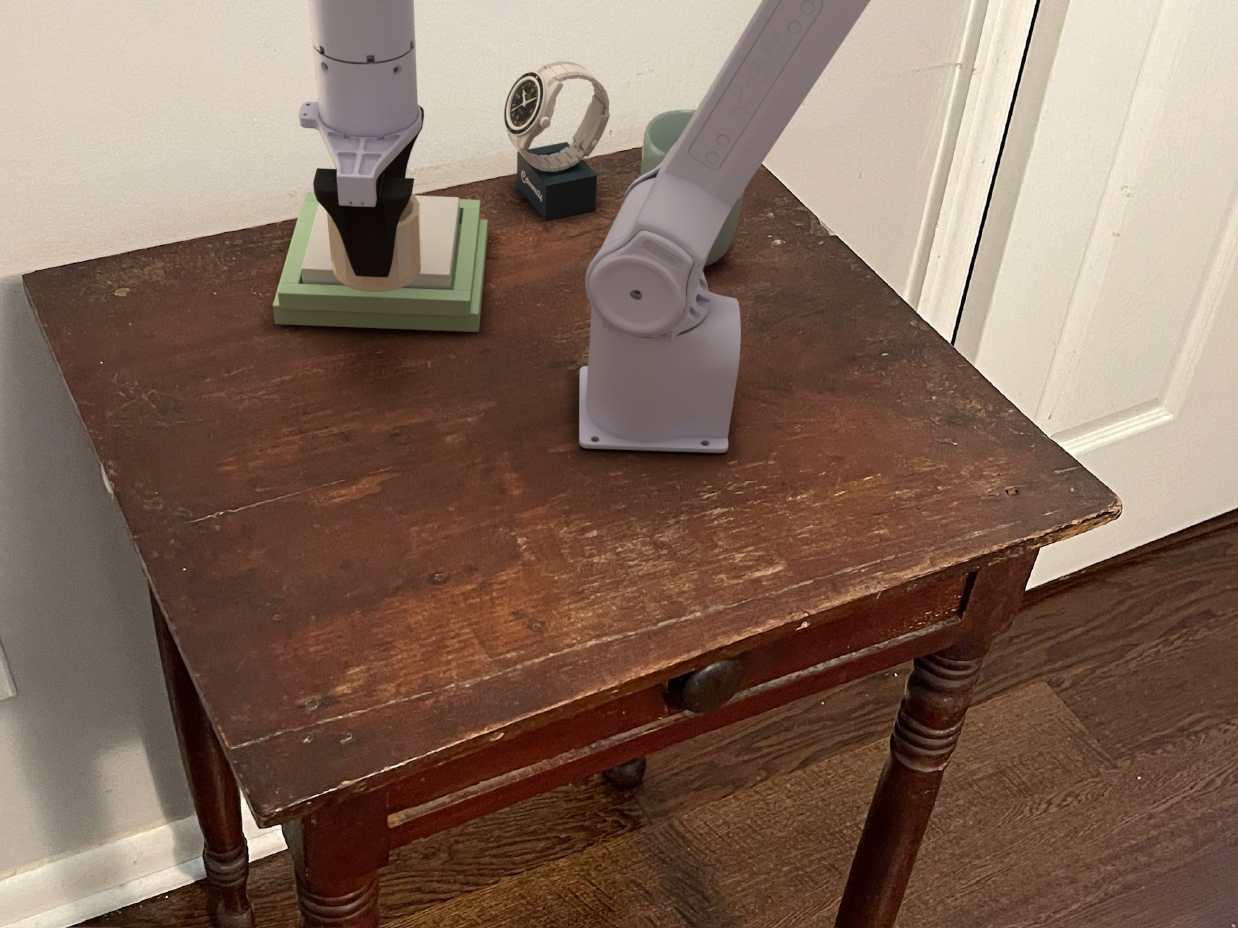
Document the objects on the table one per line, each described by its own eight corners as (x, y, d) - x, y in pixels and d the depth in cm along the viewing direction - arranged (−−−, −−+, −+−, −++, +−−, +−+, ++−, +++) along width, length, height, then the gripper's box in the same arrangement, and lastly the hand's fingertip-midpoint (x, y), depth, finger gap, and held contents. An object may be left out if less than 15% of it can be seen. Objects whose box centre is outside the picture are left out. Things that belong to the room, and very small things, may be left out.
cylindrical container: (424, 244, 89) (422, 184, 86) (418, 294, 85) (415, 232, 82) (338, 241, 88) (333, 180, 85) (327, 291, 84) (321, 229, 81)
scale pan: (460, 215, 100) (459, 197, 99) (450, 293, 93) (449, 274, 92) (323, 209, 100) (322, 190, 99) (303, 287, 92) (300, 268, 91)
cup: (738, 285, 100) (756, 166, 94) (633, 279, 100) (643, 159, 93) (732, 228, 106) (749, 112, 99) (633, 222, 106) (643, 105, 99)
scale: (488, 234, 103) (487, 200, 101) (478, 336, 94) (478, 301, 92) (302, 226, 103) (298, 191, 100) (273, 328, 93) (269, 292, 91)
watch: (494, 190, 108) (494, 61, 101) (585, 172, 111) (591, 45, 104) (522, 226, 104) (524, 95, 97) (615, 206, 107) (624, 77, 100)
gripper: (310, -16, 81) (328, 182, 90) (271, 99, 71) (296, 310, 80) (428, -10, 82) (434, 187, 91) (407, 105, 71) (416, 315, 80)
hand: (377, 245), depth 85 cm, fingers closed on cylindrical container, 5 cm apart
